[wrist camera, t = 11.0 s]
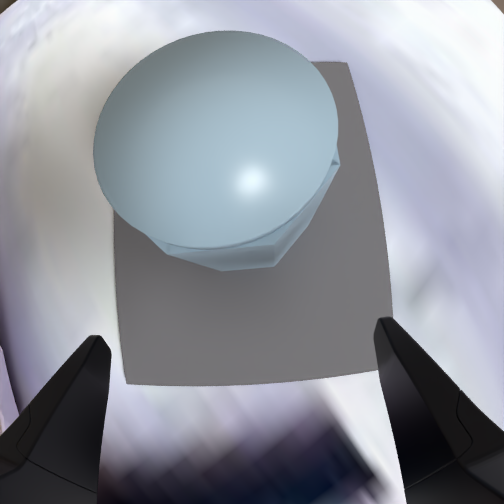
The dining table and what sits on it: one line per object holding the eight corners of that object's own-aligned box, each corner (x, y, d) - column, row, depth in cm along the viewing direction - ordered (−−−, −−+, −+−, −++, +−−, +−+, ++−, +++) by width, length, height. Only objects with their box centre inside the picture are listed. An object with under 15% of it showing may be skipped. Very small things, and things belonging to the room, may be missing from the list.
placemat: (392, 365, 17) (394, 366, 16) (129, 382, 18) (126, 383, 17) (346, 65, 19) (347, 62, 19) (125, 92, 20) (123, 89, 20)
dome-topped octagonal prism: (311, 263, 17) (358, 232, 7) (185, 274, 18) (88, 257, 8) (297, 144, 18) (313, 23, 8) (181, 158, 19) (107, 56, 9)
